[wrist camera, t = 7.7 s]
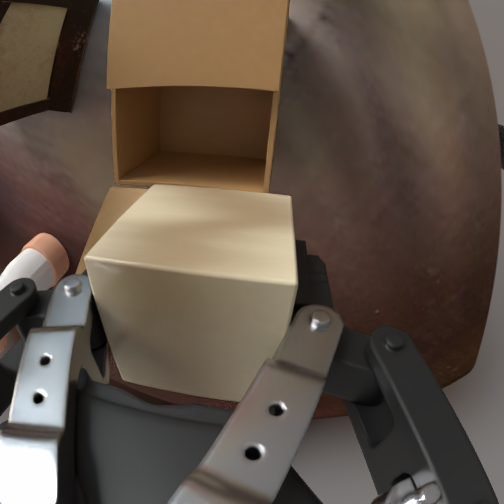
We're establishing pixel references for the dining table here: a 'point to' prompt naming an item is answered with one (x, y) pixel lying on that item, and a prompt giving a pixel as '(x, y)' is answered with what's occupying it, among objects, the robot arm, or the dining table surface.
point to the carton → (196, 91)
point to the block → (196, 287)
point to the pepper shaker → (37, 266)
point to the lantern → (41, 54)
